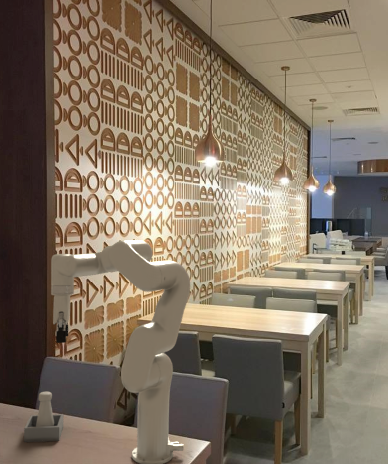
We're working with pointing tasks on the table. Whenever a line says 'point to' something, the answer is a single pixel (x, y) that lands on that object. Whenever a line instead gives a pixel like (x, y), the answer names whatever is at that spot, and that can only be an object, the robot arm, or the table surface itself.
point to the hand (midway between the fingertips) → (62, 339)
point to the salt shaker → (45, 410)
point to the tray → (43, 430)
